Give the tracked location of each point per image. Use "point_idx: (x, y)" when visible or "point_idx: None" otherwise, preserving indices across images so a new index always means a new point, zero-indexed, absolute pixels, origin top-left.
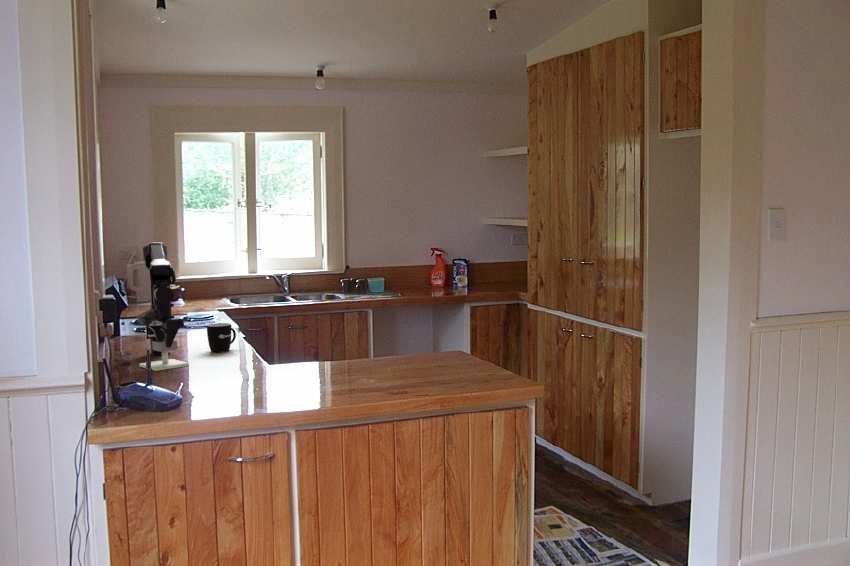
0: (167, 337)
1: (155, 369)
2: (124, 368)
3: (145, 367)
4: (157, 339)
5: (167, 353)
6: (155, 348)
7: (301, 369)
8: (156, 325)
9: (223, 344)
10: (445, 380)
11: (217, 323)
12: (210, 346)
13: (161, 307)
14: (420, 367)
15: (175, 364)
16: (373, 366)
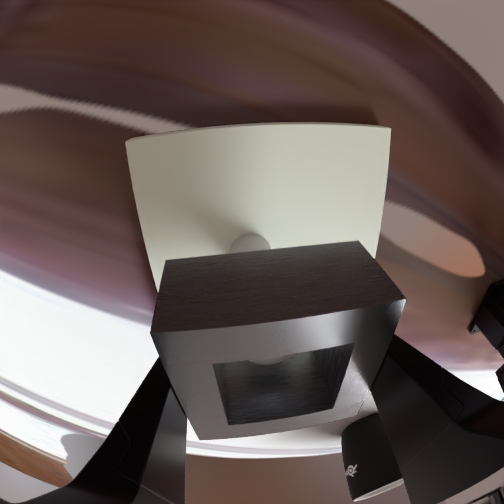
0: (113, 438)
1: (129, 140)
2: (392, 38)
3: (295, 122)
4: (394, 357)
5: None
6: (295, 259)
7: (4, 423)
8: (481, 481)
9: (344, 450)
10: None
11: None
12: (379, 426)
13: None
14: (4, 455)
15: None
16: (16, 453)
